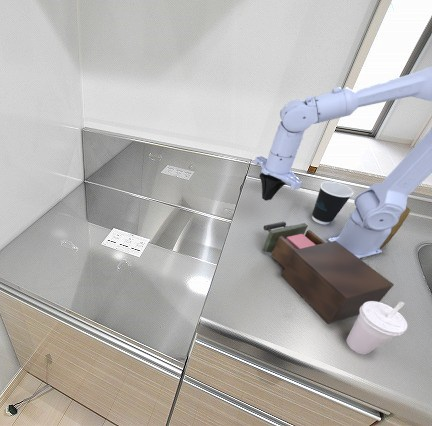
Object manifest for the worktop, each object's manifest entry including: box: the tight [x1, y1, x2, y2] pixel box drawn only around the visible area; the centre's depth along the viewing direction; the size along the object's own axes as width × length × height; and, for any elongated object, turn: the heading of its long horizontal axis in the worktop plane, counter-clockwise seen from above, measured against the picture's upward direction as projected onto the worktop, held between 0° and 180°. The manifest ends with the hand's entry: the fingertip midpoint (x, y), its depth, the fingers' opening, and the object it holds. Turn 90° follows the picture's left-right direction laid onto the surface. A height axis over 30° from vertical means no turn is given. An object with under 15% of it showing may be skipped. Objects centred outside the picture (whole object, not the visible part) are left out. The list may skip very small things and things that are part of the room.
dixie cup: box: [311, 181, 355, 225], centre depth 85 cm, size 8×8×11 cm
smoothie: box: [345, 301, 408, 356], centre depth 53 cm, size 6×6×14 cm
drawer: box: [262, 220, 327, 269], centre depth 73 cm, size 17×10×7 cm, turn 15°
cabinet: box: [281, 241, 395, 325], centre depth 64 cm, size 14×12×9 cm
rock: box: [380, 205, 411, 249], centre depth 80 cm, size 11×9×10 cm
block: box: [286, 234, 315, 249], centre depth 72 cm, size 4×4×5 cm
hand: (266, 198), depth 79 cm, fingers closed
